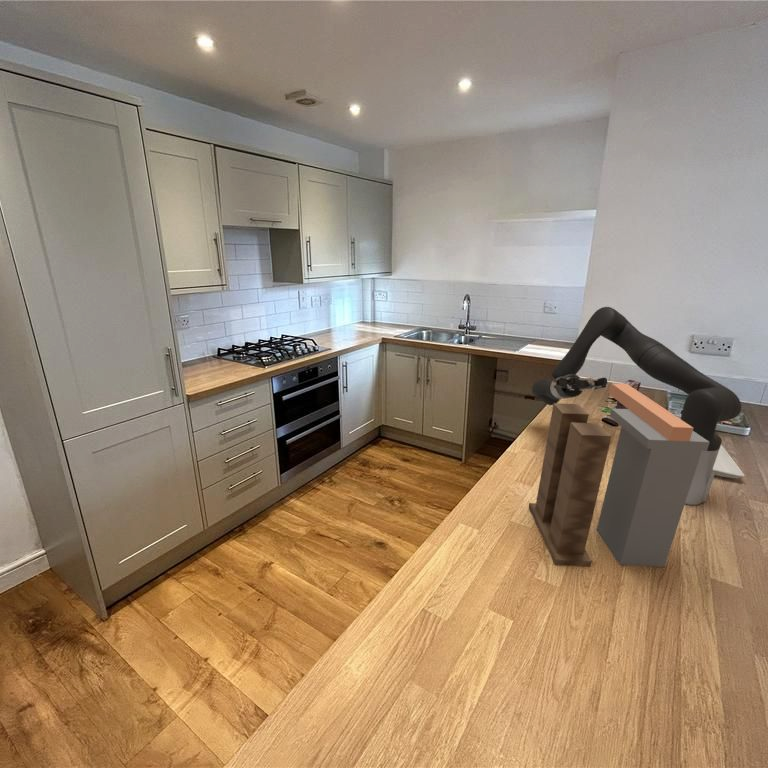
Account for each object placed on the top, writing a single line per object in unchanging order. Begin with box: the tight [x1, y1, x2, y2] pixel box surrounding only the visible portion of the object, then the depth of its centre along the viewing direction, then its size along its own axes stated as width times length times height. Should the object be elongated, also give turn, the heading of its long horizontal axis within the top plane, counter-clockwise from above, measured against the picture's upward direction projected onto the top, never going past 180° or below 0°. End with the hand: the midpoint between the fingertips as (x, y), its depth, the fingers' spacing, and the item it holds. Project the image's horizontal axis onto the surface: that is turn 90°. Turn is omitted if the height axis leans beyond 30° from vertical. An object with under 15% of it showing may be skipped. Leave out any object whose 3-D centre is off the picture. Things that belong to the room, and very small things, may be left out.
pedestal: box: [596, 408, 710, 568], centre depth 96 cm, size 12×16×32 cm
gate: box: [528, 402, 612, 568], centre depth 98 cm, size 8×21×32 cm, turn 178°
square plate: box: [712, 444, 745, 479], centre depth 143 cm, size 27×27×4 cm
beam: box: [608, 382, 693, 441], centre depth 95 cm, size 26×4×3 cm, turn 177°
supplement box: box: [615, 379, 641, 409], centre depth 169 cm, size 9×5×16 cm, turn 132°
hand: (591, 380), depth 121 cm, fingers open, 8 cm apart
